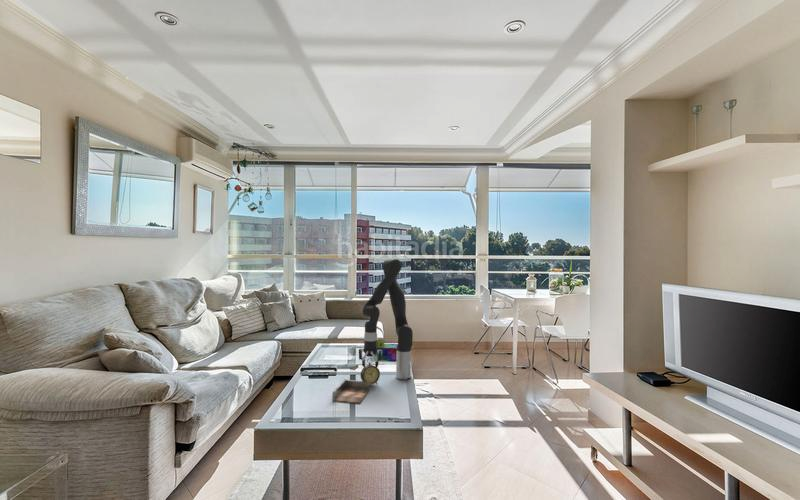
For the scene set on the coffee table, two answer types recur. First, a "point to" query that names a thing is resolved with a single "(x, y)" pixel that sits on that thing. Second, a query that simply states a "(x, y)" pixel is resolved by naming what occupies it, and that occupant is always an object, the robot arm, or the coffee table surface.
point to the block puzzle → (387, 350)
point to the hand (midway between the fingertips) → (370, 367)
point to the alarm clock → (370, 374)
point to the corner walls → (350, 386)
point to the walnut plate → (351, 395)
